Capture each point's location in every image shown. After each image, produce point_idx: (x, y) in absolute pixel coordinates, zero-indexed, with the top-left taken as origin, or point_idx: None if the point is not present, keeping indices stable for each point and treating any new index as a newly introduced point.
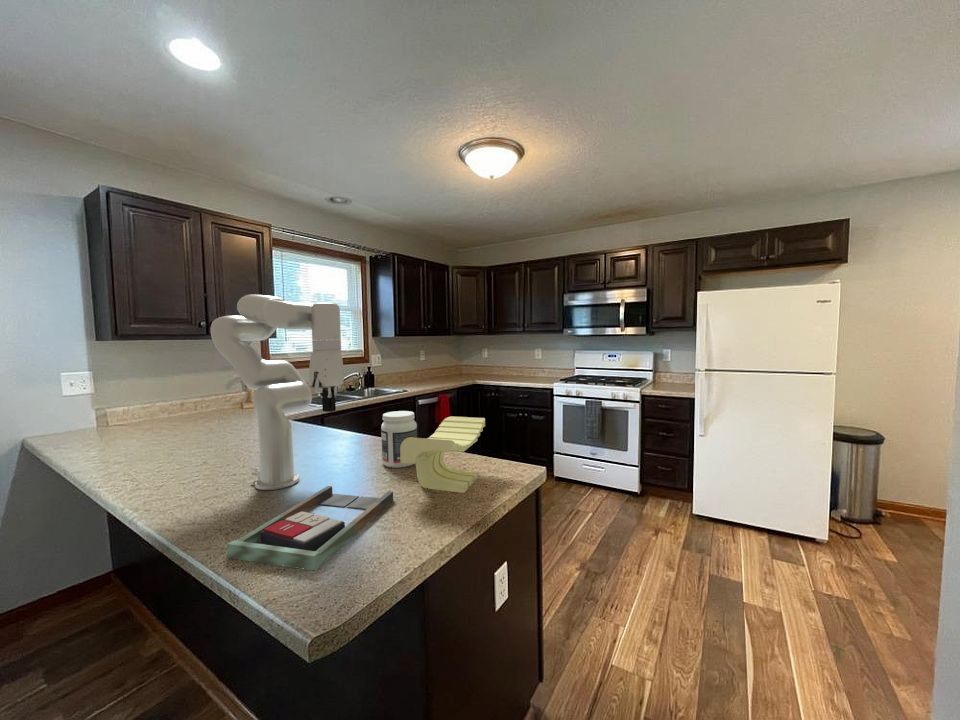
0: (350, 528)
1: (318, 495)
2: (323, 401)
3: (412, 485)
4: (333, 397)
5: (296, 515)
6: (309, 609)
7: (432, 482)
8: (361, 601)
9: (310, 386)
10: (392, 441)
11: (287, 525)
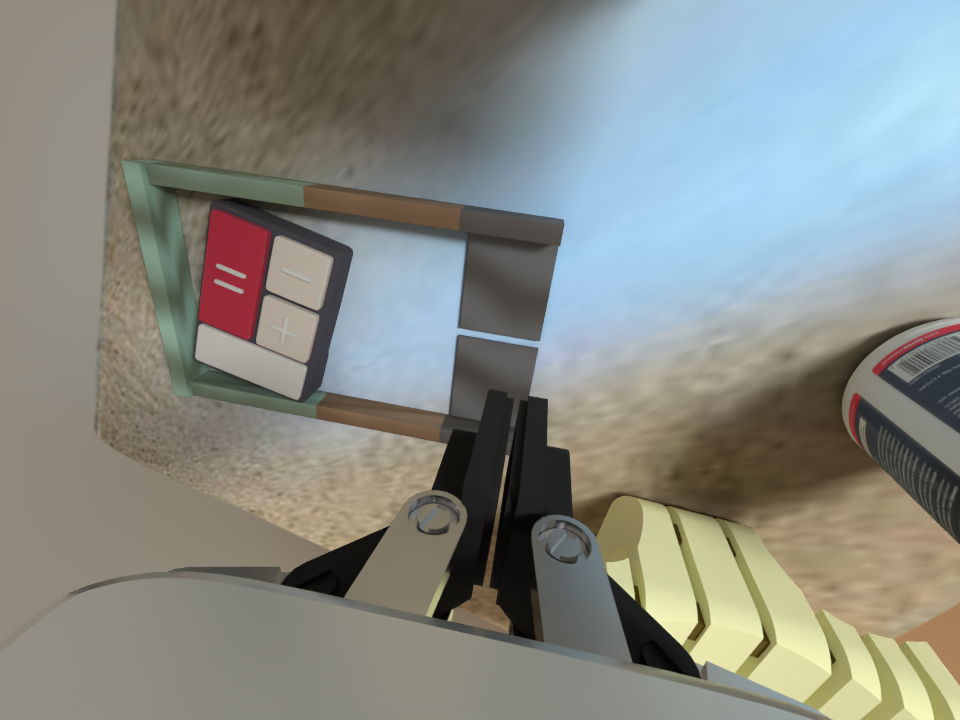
0: (300, 414)
1: (476, 232)
2: (436, 479)
3: (637, 468)
4: (499, 593)
5: (301, 259)
6: (126, 413)
7: (616, 531)
8: (171, 471)
9: (89, 588)
10: (931, 451)
11: (237, 275)
